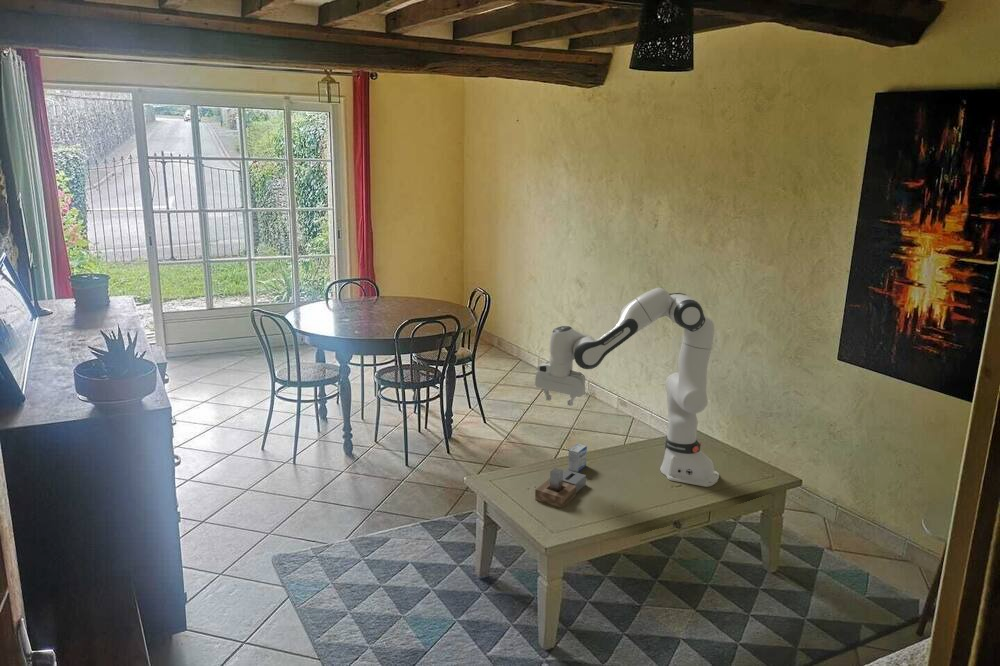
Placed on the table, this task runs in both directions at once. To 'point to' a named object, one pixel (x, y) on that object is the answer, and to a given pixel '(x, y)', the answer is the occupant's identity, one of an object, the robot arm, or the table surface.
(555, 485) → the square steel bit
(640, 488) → the table surface
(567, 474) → the grey slot block
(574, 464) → the medicine box
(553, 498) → the walnut bore block
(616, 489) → the table surface
